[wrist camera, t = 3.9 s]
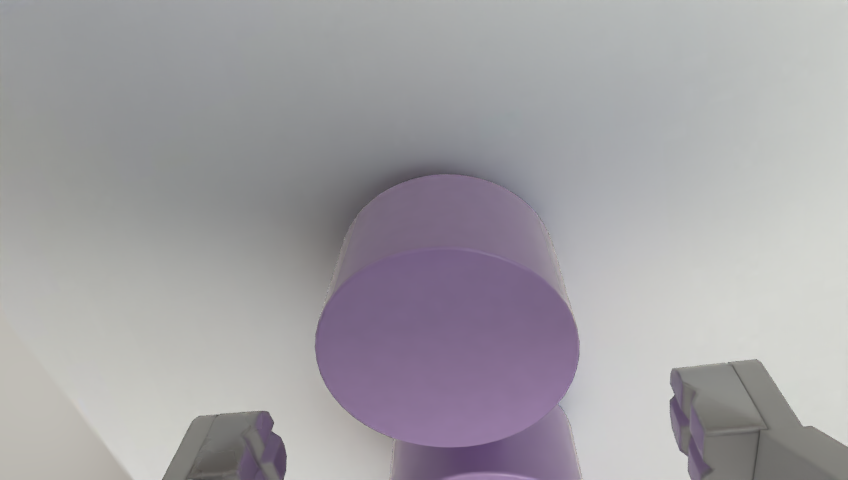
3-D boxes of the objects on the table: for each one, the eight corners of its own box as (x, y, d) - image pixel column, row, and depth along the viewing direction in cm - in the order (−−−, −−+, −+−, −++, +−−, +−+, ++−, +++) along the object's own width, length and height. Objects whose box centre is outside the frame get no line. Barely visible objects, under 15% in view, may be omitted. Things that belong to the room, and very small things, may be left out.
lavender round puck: (372, 341, 19) (351, 459, 15) (321, 176, 16) (278, 269, 12) (557, 318, 18) (587, 436, 14) (540, 140, 15) (571, 227, 11)
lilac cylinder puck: (414, 479, 23) (407, 604, 19) (379, 364, 20) (361, 483, 16) (572, 464, 22) (599, 592, 18) (560, 343, 19) (589, 463, 15)
